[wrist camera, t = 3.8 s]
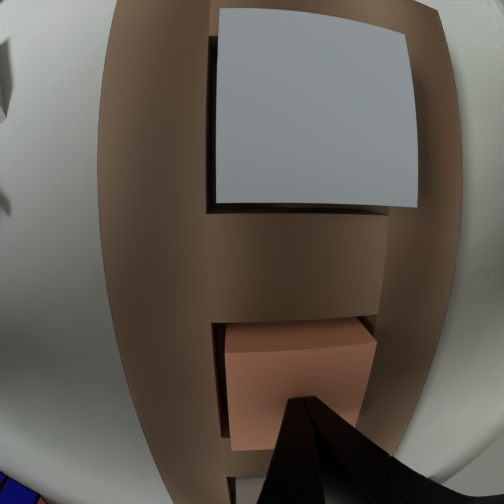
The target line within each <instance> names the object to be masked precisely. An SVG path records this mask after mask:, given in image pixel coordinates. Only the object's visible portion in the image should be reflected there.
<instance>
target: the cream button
mask: <svg viewBox="0 0 504 504" xmlns="http://www.w3.org/2000/svg"><path fill="white" fill-rule="evenodd" d="M235 478H236V504H256V502H257V500H258V497H259V495H260V492H261V490H262V486H263V483H264V480H265V479H266V476H249V477H235Z"/></svg>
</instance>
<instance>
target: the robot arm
mask: <svg viewBox="0 0 504 504" xmlns="http://www.w3.org/2000/svg"><path fill="white" fill-rule="evenodd" d="M256 504H504V494H500V495H492V496H482V497H474V496H467V495H463V494H460V493H458V492H456V491H453V490H451V489H449V488H447V487H444V486H443V485H440V484H438V483H436V482H434V481H432V480H430V479H428V478H426V477H425V476H423V475H421V474H419V473H417V472H416V471H414V470H412V469H411V468H409V467H408V466H406V465H404V464H403V463H401V462H400V461H399V460H397V459H396V458H394V457H393V456H390V454H389V453H387V452H386V451H385V450H383V449H382V448H381V447H379V446H378V445H377V444H375V443H374V442H373V441H371V440H370V439H369V438H367V437H366V436H365V435H364V434H362V433H361V432H360V431H358V430H357V429H356V428H355V427H353V426H352V425H351V424H349V423H348V422H347V421H346V420H344V419H343V418H342V417H341V416H339V415H338V414H337V413H336V412H335V411H333V410H332V409H331V408H330V407H328V406H327V405H326V404H325V403H324V402H322V401H321V400H320V399H319V398H318V397H316V396H307V397H303V398H300V397H296V398H289V399H288V400H287V403H286V407H285V411H284V415H283V419H282V423H281V426H280V430H279V434H278V437H277V441H276V444H275V448H274V451H273V455H272V458H271V461H270V465H269V468H268V471H267V474H266V479H265V480H264V483H263V486H262V490H261V492H260V495H259V497H258V500H257V502H256Z"/></svg>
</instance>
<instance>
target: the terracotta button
mask: <svg viewBox="0 0 504 504" xmlns="http://www.w3.org/2000/svg"><path fill="white" fill-rule="evenodd" d="M376 345H377V341H376V340H375V339H374V338H373V336H372V335H371V334H370V333H369V332H368V331H367V329H366V328H365V327H364V326H363V325H362V323H361V322H360V321H359V320H358V319H357V318H356V316H353V317H341V318H328V319H313V320H296V321H275V322H242V323H226V337H225V367H226V383H227V398H228V412H229V426H230V438H231V450H232V451H244V450H266V449H274V448H275V444H276V441H277V437H278V434H279V430H280V426H281V423H282V419H283V415H284V411H285V407H286V403H287V400H288V399H289V398H296V397H300V398H303V397H307V396H316V397H318V398H319V399H320V400H321V401H322V402H324V403H325V404H326V405H327V406H328V407H330V408H331V409H332V410H333V411H335V412H336V413H337V414H338V415H339V416H341V417H342V418H343V419H344V420H346V421H347V422H348V423H349V424H351V425H352V426H353V427H355V425H356V422H357V419H358V415H359V412H360V409H361V405H362V402H363V398H364V395H365V391H366V387H367V383H368V379H369V375H370V371H371V367H372V363H373V359H374V354H375V350H376Z"/></svg>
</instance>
